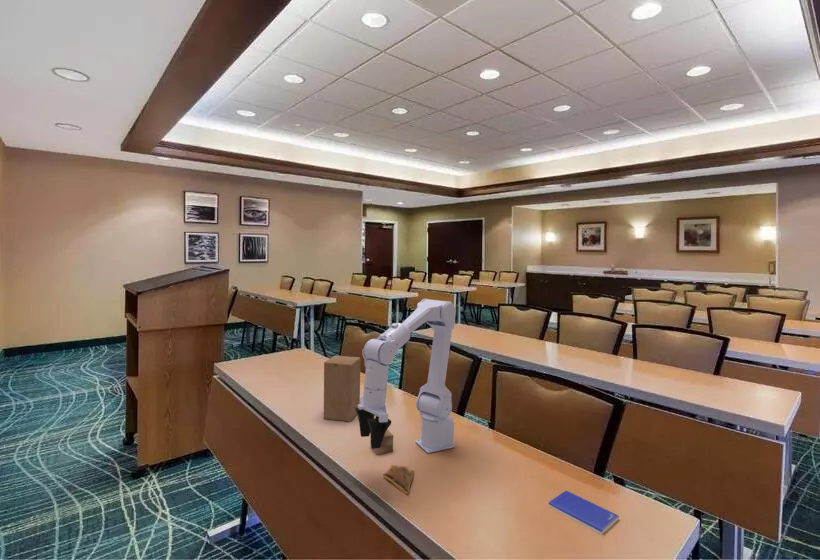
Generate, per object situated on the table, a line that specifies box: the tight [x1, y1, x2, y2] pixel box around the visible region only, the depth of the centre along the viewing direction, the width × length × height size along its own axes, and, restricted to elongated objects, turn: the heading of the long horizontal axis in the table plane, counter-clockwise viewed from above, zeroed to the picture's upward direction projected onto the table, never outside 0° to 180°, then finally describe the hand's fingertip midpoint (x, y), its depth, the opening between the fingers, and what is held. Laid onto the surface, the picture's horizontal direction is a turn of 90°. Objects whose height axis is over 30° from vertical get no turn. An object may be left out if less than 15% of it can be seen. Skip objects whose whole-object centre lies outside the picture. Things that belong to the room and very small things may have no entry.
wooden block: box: [323, 355, 361, 423], centre depth 144 cm, size 10×10×20 cm
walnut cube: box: [371, 428, 394, 455], centre depth 120 cm, size 5×5×5 cm
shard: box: [382, 464, 415, 495], centre depth 103 cm, size 11×8×2 cm
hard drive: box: [548, 490, 620, 535], centre depth 93 cm, size 2×8×12 cm
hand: (370, 441), depth 103 cm, fingers open, 7 cm apart
